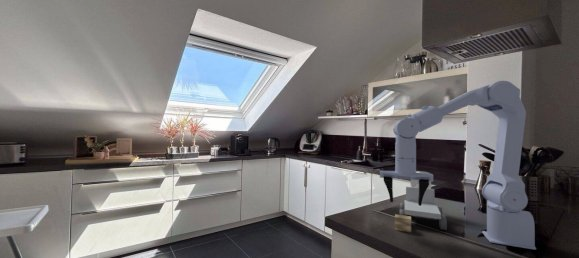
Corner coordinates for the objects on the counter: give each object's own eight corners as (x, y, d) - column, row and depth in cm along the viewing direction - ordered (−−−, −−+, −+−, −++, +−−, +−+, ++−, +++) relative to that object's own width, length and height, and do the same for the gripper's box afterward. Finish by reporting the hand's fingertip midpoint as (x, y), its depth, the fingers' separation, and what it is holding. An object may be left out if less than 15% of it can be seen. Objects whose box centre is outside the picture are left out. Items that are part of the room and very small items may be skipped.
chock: (410, 227, 77) (410, 214, 77) (411, 232, 73) (411, 219, 73) (395, 224, 79) (395, 212, 79) (394, 230, 75) (394, 217, 75)
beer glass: (415, 207, 98) (415, 170, 98) (434, 212, 93) (434, 172, 93) (407, 211, 94) (407, 171, 94) (426, 215, 88) (426, 174, 89)
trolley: (440, 218, 85) (440, 189, 85) (446, 232, 73) (447, 198, 73) (399, 213, 91) (400, 185, 91) (399, 224, 79) (399, 193, 79)
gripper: (431, 158, 75) (431, 202, 74) (381, 156, 81) (381, 197, 81) (434, 160, 68) (434, 209, 68) (379, 157, 75) (379, 202, 74)
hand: (405, 203), depth 74 cm, fingers open, 7 cm apart
